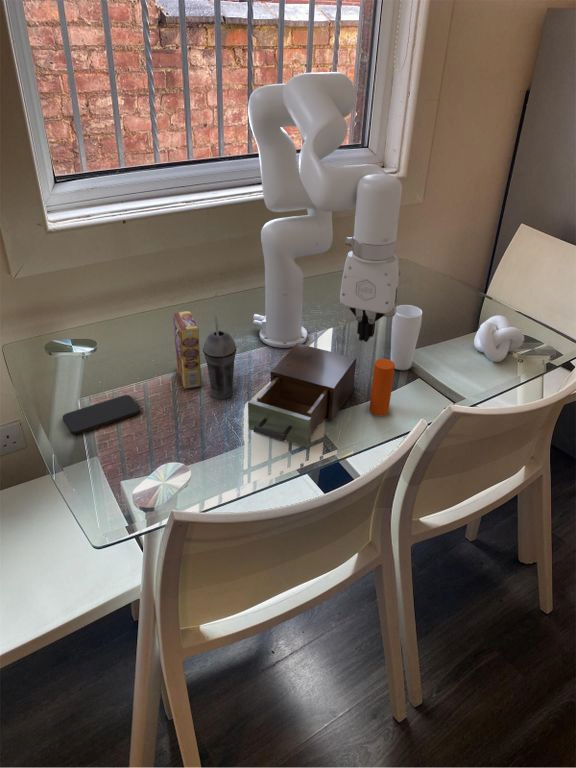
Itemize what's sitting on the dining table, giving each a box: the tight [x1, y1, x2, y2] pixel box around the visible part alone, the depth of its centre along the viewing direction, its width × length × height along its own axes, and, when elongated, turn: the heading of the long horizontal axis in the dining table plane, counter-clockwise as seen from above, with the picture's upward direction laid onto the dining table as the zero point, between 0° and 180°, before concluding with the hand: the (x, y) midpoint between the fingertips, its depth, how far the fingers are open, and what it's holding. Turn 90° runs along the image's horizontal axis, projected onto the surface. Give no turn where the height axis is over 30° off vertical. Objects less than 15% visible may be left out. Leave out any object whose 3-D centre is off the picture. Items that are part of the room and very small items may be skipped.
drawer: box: [247, 376, 330, 449], centre depth 124 cm, size 17×13×7 cm
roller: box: [368, 358, 395, 417], centre depth 129 cm, size 4×4×12 cm
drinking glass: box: [389, 304, 423, 371], centre depth 144 cm, size 7×7×15 cm
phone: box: [62, 394, 141, 435], centre depth 129 cm, size 7×1×15 cm
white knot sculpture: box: [473, 314, 525, 363], centre depth 152 cm, size 11×12×9 cm
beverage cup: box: [202, 315, 238, 400], centre depth 131 cm, size 7×7×20 cm
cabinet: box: [270, 343, 357, 422], centre depth 134 cm, size 14×15×9 cm
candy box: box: [172, 311, 202, 389], centre depth 138 cm, size 9×4×15 cm, turn 20°
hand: (365, 337), depth 118 cm, fingers closed
